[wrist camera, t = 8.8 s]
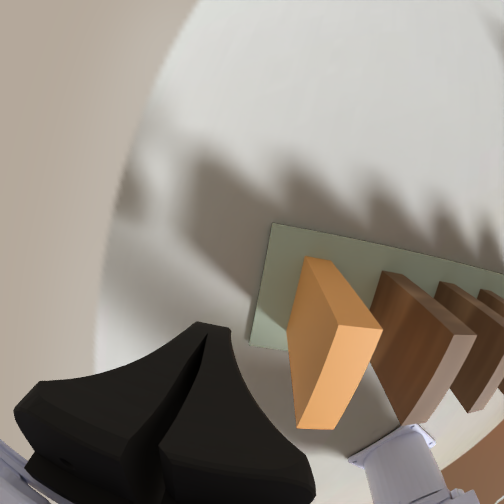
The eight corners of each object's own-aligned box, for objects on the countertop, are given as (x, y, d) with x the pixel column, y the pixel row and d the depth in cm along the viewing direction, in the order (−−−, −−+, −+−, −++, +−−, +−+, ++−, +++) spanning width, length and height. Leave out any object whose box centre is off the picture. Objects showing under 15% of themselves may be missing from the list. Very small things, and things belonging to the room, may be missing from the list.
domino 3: (490, 290, 15) (553, 333, 8) (468, 344, 17) (518, 397, 9) (480, 288, 15) (545, 333, 8) (457, 344, 17) (508, 400, 9)
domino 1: (402, 274, 16) (477, 335, 8) (378, 341, 17) (426, 422, 9) (381, 270, 16) (454, 334, 8) (358, 339, 17) (401, 425, 9)
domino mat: (552, 288, 15) (554, 289, 15) (527, 350, 17) (529, 351, 17) (272, 222, 16) (272, 223, 15) (249, 342, 18) (248, 345, 17)
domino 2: (454, 283, 15) (525, 334, 8) (430, 344, 17) (482, 409, 9) (439, 280, 15) (513, 335, 8) (415, 343, 17) (467, 413, 9)
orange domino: (331, 260, 16) (383, 329, 8) (310, 334, 17) (333, 429, 9) (304, 255, 16) (338, 325, 8) (286, 330, 17) (296, 428, 9)
